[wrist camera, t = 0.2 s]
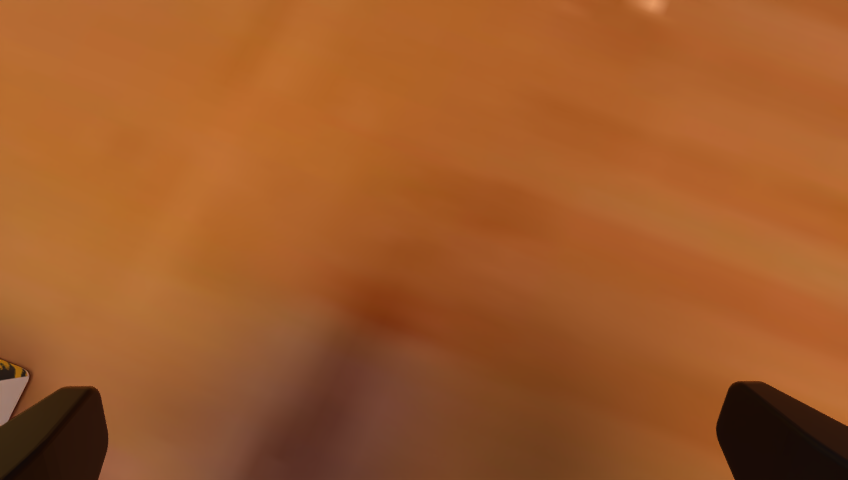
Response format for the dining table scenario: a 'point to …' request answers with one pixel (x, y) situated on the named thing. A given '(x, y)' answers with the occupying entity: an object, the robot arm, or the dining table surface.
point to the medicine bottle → (10, 388)
